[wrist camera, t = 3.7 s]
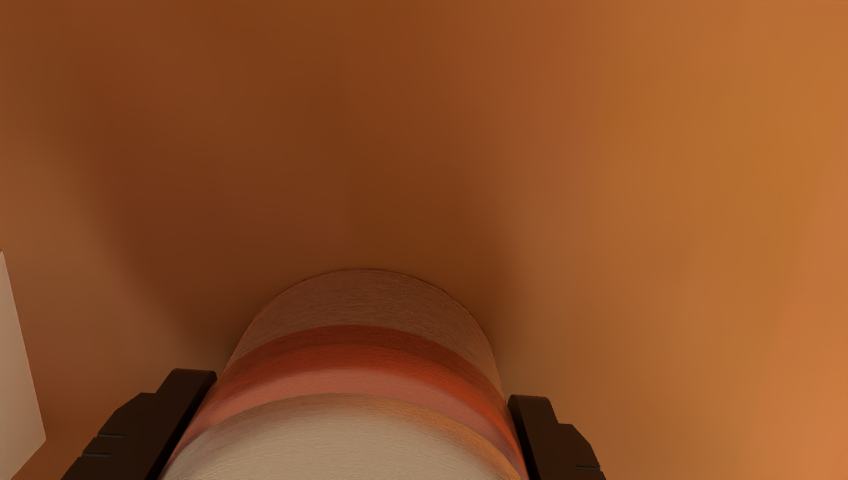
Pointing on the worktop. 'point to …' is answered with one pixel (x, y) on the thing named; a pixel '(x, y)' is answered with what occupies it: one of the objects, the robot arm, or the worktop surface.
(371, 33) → the worktop surface
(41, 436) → the carton
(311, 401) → the tin
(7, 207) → the worktop surface
